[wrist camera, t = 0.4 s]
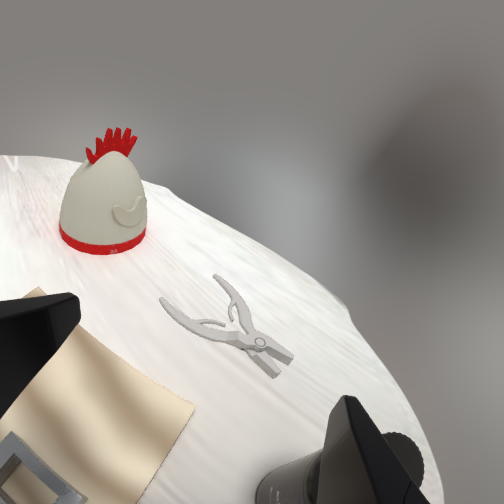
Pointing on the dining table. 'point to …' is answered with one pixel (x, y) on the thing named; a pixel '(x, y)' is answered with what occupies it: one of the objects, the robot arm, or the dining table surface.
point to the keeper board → (92, 424)
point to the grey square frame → (16, 451)
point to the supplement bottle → (308, 472)
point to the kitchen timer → (105, 200)
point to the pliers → (236, 332)
